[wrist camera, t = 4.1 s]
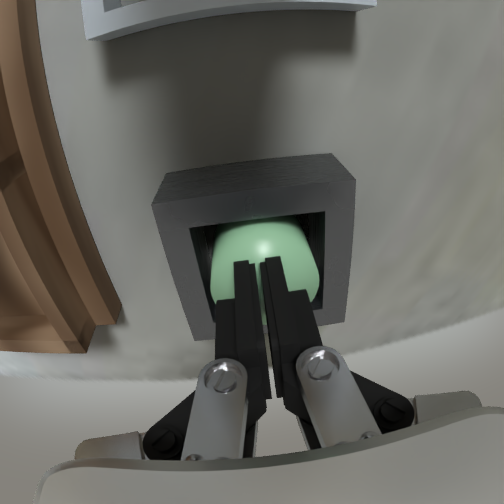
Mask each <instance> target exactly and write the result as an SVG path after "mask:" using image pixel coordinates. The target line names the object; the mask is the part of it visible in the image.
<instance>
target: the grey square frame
mask: <svg viewBox="0 0 504 504" xmlns="http://www.w3.org/2000/svg"><path fill="white" fill-rule="evenodd" d="M81 5H82V13H83V21H84V29H85V36H86V40H97V41H108V40H111V39H114V38H118V37H121V36H124V35H128V34H131V33H135V32H139V31H142V30H146V29H150V28H154V27H159V26H163V25H167V24H172V23H177V22H182V21H187V20H193V19H198V18H205V17H211V16H218V15H226V14H234V13H244V12H255V11H270V10H298V9H315V10H343V11H360V10H364V9H367V8H371V7H375V6H377V1H376V0H144V1H141V2H137V3H133V4H130V5H127V6H123V7H121V2H120V0H81Z"/></svg>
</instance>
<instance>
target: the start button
mask: <svg viewBox="0 0 504 504" xmlns="http://www.w3.org/2000/svg"><path fill="white" fill-rule="evenodd" d="M275 256H280V257H281V261H282V265H283V270H284V274H285V278H286V282H287V287H288V291H294V290H301V289H306V290H307V293H308V296H309V299H310V303H311V302H312V300H313V299H314V297H315V295H316V293H317V290H318V287H319V273H318V269H317V267H316V264H315V261H314V258H313V256H312V253H311V250H310V247H309V245H308V242H307V239H306V237H305V234H304V231H303V229H302V226H301V224H300V222H299V221H298V219H297V218H296V217H295V215H286V216H277V217H269V218H261V219H253V220H245V221H237V222H229V223H221V224H218V226H217V228H216V230H215V233H214V238H213V252H212V267H211V285H210V289H211V295H212V298H213V300H214V302H215V304H216V301H217V300H223V299H231V298H235V294H234V266H233V262H235V261H243V260H249V264H252V263H255V268H256V276H257V284H258V291H259V299H260V307H261V315H262V323H263V325H267V321H266V313H265V304H264V296H263V287H262V279H261V270H260V262H265V258H267V257H275Z"/></svg>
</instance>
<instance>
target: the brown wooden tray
mask: <svg viewBox="0 0 504 504" xmlns="http://www.w3.org/2000/svg"><path fill="white" fill-rule="evenodd" d="M121 306H122V304H121V302H120V300H119V298H118V296H117V294H116V291H115V289H114V287H113V285H112V283H111V280H110V278H109V276H108V274H107V271H106V269H105V267H104V264H103V262H102V259H101V257H100V255H99V252H98V250H97V247H96V245H95V242H94V240H93V237H92V235H91V232H90V230H89V227H88V224H87V222H86V219H85V216H84V213H83V211H82V208H81V205H80V202H79V199H78V196H77V193H76V191H75V188H74V184H73V181H72V178H71V175H70V172H69V169H68V165H67V162H66V159H65V155H64V152H63V148H62V145H61V141H60V138H59V134H58V130H57V126H56V122H55V118H54V114H53V110H52V106H51V101H50V97H49V92H48V87H47V82H46V77H45V72H44V66H43V60H42V54H41V48H40V41H39V34H38V26H37V17H36V6H35V0H0V351H13V352H34V353H87V350H88V347H89V344H90V341H91V339H92V336H93V333H94V330H95V327H96V325H111V324H116V322H117V319H118V315H119V312H120V309H121Z"/></svg>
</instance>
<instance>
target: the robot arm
mask: <svg viewBox="0 0 504 504" xmlns="http://www.w3.org/2000/svg"><path fill="white" fill-rule="evenodd" d="M233 266H234V294H235V298H231V299H223V300H217V301H216V332H215V360H214V361H211V362H210V363H208V364H207V365H206V366H205V367H204V368H203V369H202V370H201V372H200V375H199V378H198V382H197V387H196V390H195V391H194V392H193V393H191V394H190V395H189V396H188V397H187V398H186V399H185V400H183V401H182V402H181V403H180V404H179V405H177V406H176V407H175V408H174V409H173V410H171V411H170V412H169V413H168V414H167V415H165V416H164V417H163V418H162V419H161V420H160V421H158V422H157V423H156V424H155V425H154V426H152V427H151V428H150V429H149V430H148V431H147V432H145V433H139V432H138V431H137V432H131V433H126V434H119V435H113V436H107V437H101V438H93V439H88V440H85V441H83V442H82V443H80V444H79V445H78V447H77V449H76V451H75V460H71V461H67V462H64V463H61V464H58V465H56V466H54V467H52V468H50V469H49V470H48V471H46V472H45V474H44V475H43V476H42V478H41V480H40V482H39V484H38V487H37V490H36V493H35V496H34V500H33V504H504V408H500V407H482V404H481V402H480V400H479V398H478V397H477V396H476V395H475V394H474V393H472V392H469V391H459V392H451V393H441V394H430V395H417V396H415V397H414V398H411V399H407V398H405V397H404V396H402V395H400V394H398V393H396V392H393V391H391V390H389V389H387V388H385V387H383V386H381V385H379V384H377V383H375V382H372V381H370V380H368V379H366V378H364V377H362V376H360V375H358V374H356V373H354V372H352V371H350V370H349V368H348V366H347V364H346V362H345V360H344V358H343V357H342V356H341V354H340V353H339V352H337V351H336V350H335V349H333V348H330V347H326V346H323V345H322V341H321V338H320V334H319V330H318V327H317V323H316V320H315V316H314V313H313V309H312V306H311V303H310V299H309V296H308V293H307V290H306V289H301V290H294V291H288V287H287V282H286V278H285V274H284V270H283V265H282V261H281V257H280V256H275V257H267V258H265V262H260V270H261V279H262V287H263V296H264V304H265V313H266V321H267V329H268V336H269V343H270V351H271V358H272V365H273V373H274V380H275V388H276V394H277V398H281V397H283V400H284V405H285V408H286V409H287V410H289V411H290V412H292V413H293V414H295V415H296V417H297V421H298V424H299V427H300V429H301V432H302V435H303V438H304V441H305V444H306V446H307V449H308V451H302V452H295V453H289V454H281V455H273V456H263V457H255V452H256V442H257V430H258V419H259V418H260V417H261V416H262V415H263V414H264V413H265V412H266V408H267V407H266V399H272V397H271V388H270V379H269V371H268V363H267V355H266V347H265V339H264V331H263V323H262V315H261V307H260V299H259V291H258V284H257V276H256V268H255V263H252V264H249V260H243V261H235V262H233Z"/></svg>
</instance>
